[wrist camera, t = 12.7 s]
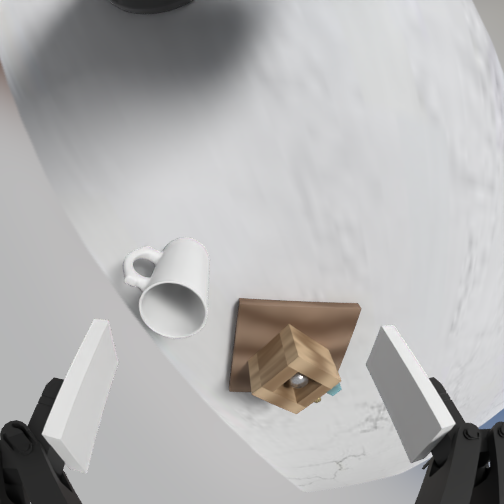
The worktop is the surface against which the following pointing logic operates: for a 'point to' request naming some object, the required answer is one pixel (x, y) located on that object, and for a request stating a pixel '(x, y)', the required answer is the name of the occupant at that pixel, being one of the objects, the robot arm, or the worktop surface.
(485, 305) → the worktop surface
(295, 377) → the post
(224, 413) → the worktop surface
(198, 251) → the mug
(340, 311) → the base board
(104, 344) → the robot arm
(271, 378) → the hollow wooden frame
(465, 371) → the worktop surface
